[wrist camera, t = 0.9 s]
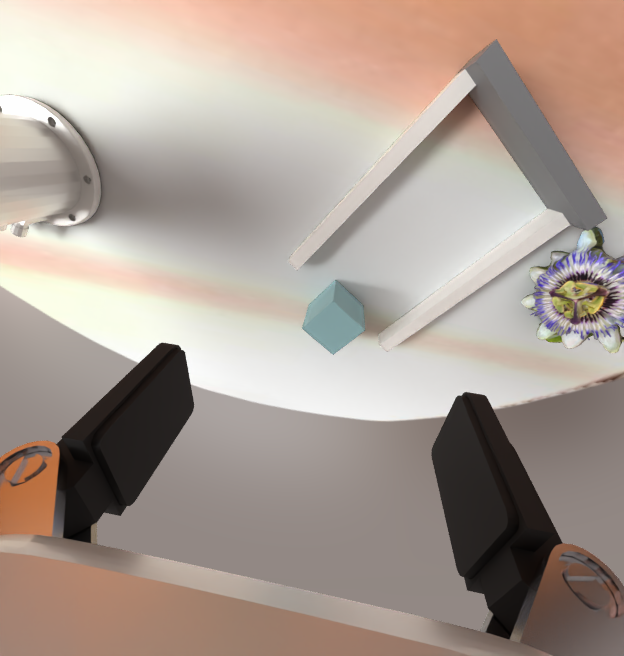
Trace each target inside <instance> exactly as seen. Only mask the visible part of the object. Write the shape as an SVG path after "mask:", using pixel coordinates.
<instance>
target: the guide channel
mask: <svg viewBox="0 0 624 656" xmlns="http://www.w3.org/2000/svg"><path fill="white" fill-rule="evenodd" d="M467 94H469V96H470V97H471V98H472V100H473V101H474V103H475V104H476V106H477V107H478V109H479V110H480V111H481V113H482V114H483V116H484V117H485V119H486V120H487V122H488V123H489V125H490V126H491V127H492V129H493V130H494V132H495V133H496V135H497V136H498V138H499V139H500V140H501V142H502V143H503V145H504V146H505V148H506V149H507V151H508V152H509V154H510V155H511V156H512V158H513V159H514V161H515V162H516V164H517V165H518V167H519V168H520V169H521V171H522V172H523V174H524V175H525V177H526V178H527V180H528V181H529V183H530V184H531V185H532V187H533V188H534V190H535V191H536V193H537V194H538V196H539V197H540V198H541V200H542V201H543V203H544V204H545V206H546V207H547V209H546V210H545V211H543V212H542V213H541V214H539V215H538V216H537V217H535V218H534V219H533V220H531V221H530V222H529V223H527V224H526V225H525V226H523V227H522V228H521V229H519V230H518V231H517V232H515V233H514V234H513V235H511V236H510V237H508V238H507V239H506V240H504V241H503V242H502V243H500V244H499V245H498V246H496V247H495V248H494V249H492V250H491V251H490V252H488V253H487V254H486V255H484V256H483V257H482V258H480V259H479V260H478V261H476V262H475V263H474V264H472V265H471V266H469V267H468V268H467V269H465V270H464V271H463V272H461V273H460V274H459V275H457V276H456V277H455V278H453V279H452V280H451V281H449V282H448V283H447V284H445V285H444V286H443V287H441V288H440V289H439V290H437V291H436V292H435V293H433V294H432V295H430V296H429V297H428V298H426V299H425V300H424V301H422V302H421V303H420V304H418V305H417V306H416V307H414V308H413V309H412V310H410V311H409V312H408V313H406V314H405V315H404V316H402V317H401V318H400V319H398V320H397V321H396V322H394V323H393V324H391V325H390V326H389V327H387V328H386V329H385V330H383V331H382V332H381V333H379V334H378V338H379V345H380V346H381V347H382V348H383V349H384V350H385V351H386V352H388V351H390V350H391V349H392V348H394V347H395V346H397V345H398V344H400V343H401V342H403V341H404V340H405V339H407V338H408V337H410V336H411V335H413V334H414V333H415V332H417V331H418V330H420V329H421V328H423V327H424V326H426V325H427V324H428V323H430V322H431V321H433V320H434V319H436V318H437V317H438V316H440V315H441V314H443V313H444V312H446V311H447V310H449V309H450V308H451V307H453V306H454V305H456V304H457V303H459V302H460V301H461V300H463V299H464V298H466V297H467V296H469V295H470V294H472V293H473V292H474V291H476V290H477V289H479V288H480V287H482V286H483V285H484V284H486V283H487V282H489V281H490V280H492V279H493V278H494V277H496V276H497V275H499V274H500V273H502V272H503V271H505V270H506V269H507V268H509V267H510V266H512V265H513V264H515V263H516V262H517V261H519V260H520V259H522V258H523V257H525V256H526V255H528V254H529V253H530V252H532V251H533V250H535V249H536V248H538V247H539V246H540V245H542V244H543V243H545V242H546V241H548V240H549V239H551V238H552V237H553V236H555V235H556V234H558V233H559V232H561V231H562V230H563V229H565V228H566V227H568V226H569V225H572V226H575V227H578V228H581V229H583V230H586V231H589V230H591V229H592V228H593V227H595V226H596V225H598V224H599V223H601V222H602V221H604V220H605V219H607V217H606V215H605V213H604V212H603V210H602V209H601V207H600V205H599V204H598V202H597V201H596V199H595V197H594V196H593V194H592V193H591V191H590V189H589V188H588V186H587V184H586V183H585V181H584V180H583V178H582V176H581V175H580V173H579V172H578V170H577V168H576V167H575V165H574V163H573V162H572V160H571V159H570V157H569V155H568V154H567V152H566V151H565V149H564V147H563V146H562V144H561V143H560V141H559V139H558V138H557V136H556V134H555V133H554V131H553V130H552V128H551V126H550V125H549V123H548V122H547V120H546V118H545V117H544V115H543V114H542V112H541V110H540V109H539V107H538V105H537V104H536V102H535V101H534V99H533V97H532V96H531V94H530V93H529V91H528V89H527V88H526V86H525V85H524V83H523V81H522V80H521V78H520V76H519V75H518V73H517V72H516V70H515V68H514V67H513V65H512V64H511V62H510V60H509V59H508V57H507V55H506V54H505V52H504V51H503V49H502V47H501V46H500V44H499V43H498V41H497V39H496V40H495V41H493V42H492V43H491V44H489V45H488V46H487V47H485V48H484V49H483V50H482V51H480V52H479V53H478V54H476V55H475V56H474V57H472V58H471V59H470V60H469V61H468V63H467V64H466V65H465V66H464V67H463V68H462V69H461V70H460V71H459V72H458V73H457V75H456V76H455V77H454V78H453V79H452V80H451V81H450V82H449V83H448V84H447V85H446V87H445V88H444V89H443V90H442V91H441V92H440V93H439V94H438V95H437V96H436V98H435V99H434V100H433V101H432V102H431V103H430V104H429V105H428V106H427V107H426V108H425V110H424V111H423V112H422V113H421V114H420V115H419V116H418V117H417V118H416V119H415V120H414V122H413V123H412V124H411V125H410V126H409V127H408V128H407V129H406V130H405V131H404V132H403V134H402V135H401V136H400V137H399V138H398V139H397V140H396V141H395V142H394V143H393V144H392V146H391V147H390V148H389V149H388V150H387V151H386V152H385V153H384V154H383V155H382V156H381V158H380V159H379V160H378V161H377V162H376V163H375V164H374V165H373V166H372V167H371V168H370V170H369V171H368V172H367V173H366V174H365V175H364V176H363V177H362V178H361V179H360V180H359V182H358V183H357V184H356V185H355V186H354V187H353V188H352V189H351V190H350V191H349V192H348V194H347V195H346V196H345V197H344V198H343V199H342V200H341V201H340V202H339V203H338V204H337V206H336V207H335V208H334V209H333V210H332V211H331V212H330V213H329V214H328V215H327V216H326V218H325V219H324V220H323V221H322V222H321V223H320V224H319V225H318V226H317V227H316V228H315V230H314V231H313V232H312V233H311V234H310V235H309V236H308V237H307V238H306V239H305V240H304V242H303V243H302V244H301V245H300V246H299V247H298V248H297V249H296V250H295V251H294V252H293V254H292V255H291V256H290V258H289V260H288V262H289V263H290V264H291V265H292V266H293V267H294V268H295V269H296V270H298V269H299V268H300V267H301V266H302V265H303V264H304V263H305V262H306V261H307V260H308V259H309V258H310V257H311V256H312V255H313V254H314V253H315V252H316V251H317V250H318V249H319V248H320V247H321V246H322V244H323V243H324V242H325V241H326V240H327V239H328V238H329V237H330V236H331V235H332V234H333V233H334V232H335V231H336V230H337V229H338V228H339V227H340V226H341V225H342V224H343V223H344V222H345V221H346V220H347V219H348V217H349V216H350V215H351V214H352V213H353V212H354V211H355V210H356V209H357V208H358V207H359V206H360V205H361V204H362V203H363V202H364V201H365V200H366V199H367V198H368V197H369V196H370V195H371V194H372V193H373V192H374V190H375V189H376V188H377V187H378V186H379V185H380V184H381V183H382V182H383V181H384V180H385V179H386V178H387V177H388V176H389V175H390V174H391V173H392V172H393V171H394V170H395V169H396V168H397V167H398V166H399V165H400V164H401V162H402V161H403V160H404V159H405V158H406V157H407V156H408V155H409V154H410V153H411V152H412V151H413V150H414V149H415V148H416V147H417V146H418V145H419V144H420V143H421V142H422V141H423V140H424V139H425V138H426V137H427V135H428V134H429V133H430V132H431V131H432V130H433V129H434V128H435V127H436V126H437V125H438V124H439V123H440V122H441V121H442V120H443V119H444V118H445V117H446V116H447V115H448V114H449V113H450V112H451V111H452V110H453V109H454V107H455V106H456V105H457V104H458V103H459V102H460V101H461V100H462V99H463V98H464V97H465V96H466V95H467Z"/></svg>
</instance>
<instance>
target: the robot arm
mask: <svg viewBox="0 0 624 656" xmlns="http://www.w3.org/2000/svg"><path fill="white" fill-rule="evenodd" d="M100 198H101V182H100V177H99V172H98V169H97V166H96V163H95V161H94V158H93V156H92V154H91V152H90V150H89V148H88V146H87V145H86V143H85V142H84V140H83V139H82V138H81V136H80V135H79V133H78V132H77V131H76V130H75V129H74V128H73V126H72V125H71V124H70V123H69V122H68V121H67V120H66V119H65V118H64V117H62V116H61V115H60V114H59V113H58V112H56V111H55V110H54V109H52V108H51V107H49V106H48V105H46V104H44V103H42V102H40V101H38V100H36V99H32V98H28V97H25V96H18V95H10V94H9V95H1V96H0V231H4V230H6V228H7V225H9V224H12V227H11V233H12V234H14V235H16V236H19V237H25V236H26V235H27V232H28V229H29V224H32V223H37V222H41V221H45V222H47V223H50V224H54V225H58V226H72V225H77V224H80V223H83V222H85V221H87V220H88V219H90V218H91V217H92V216H93V215H94V213H95V212H96V210H97V208H98V206H99V203H100ZM193 408H194V402H193V396H192V390H191V384H190V379H189V373H188V367H187V362H186V356H185V352H184V351H183V350H181V348H180V346H178V345H174V344H168V343H160V344H159V345H158V346H156V347H155V348H154V349H153V350H152V351H151V352H150V353H149V354H148V355H147V356H146V357H145V358H144V359H143V360H142V361H141V362H140V363H139V364H138V365H137V366H136V367H135V368H133V370H131V371H130V372H129V373H128V374H127V375H126V376H125V377H124V378H123V379H122V380H121V381H120V382H119V383H118V384H117V385H116V386H115V387H114V388H113V389H111V390H110V391H109V392H108V393H107V394H106V395H105V396H104V397H103V398H102V399H101V400H100V401H99V402H98V403H97V404H96V405H95V406H94V407H93V408H91V409H90V411H88V412H87V413H86V414H85V415H84V416H83V417H82V418H81V419H80V420H79V421H78V422H77V423H76V424H75V425H74V426H73V427H72V428H71V429H70V430H68V431H67V433H65V434H64V435H63V436H62V439H61V440H60V441H59V442H58V443H57V444H55V443H53V442H50V441H36V442H31V443H27V444H24V445H22V446H19V447H17V448H15V449H13V450H11V451H10V452H8V453H6V454H4V455H3V456H2V457H1V458H0V656H624V586H623V584H622V583H621V581H620V580H619V578H618V577H617V576H616V575H615V574H614V573H613V572H612V571H611V569H610V568H609V567H608V566H607V565H605V564H604V563H603V562H602V561H601V560H600V559H598V558H597V557H596V556H594V555H593V554H591V553H590V552H588V551H586V550H584V549H583V548H580V547H578V546H575V545H573V544H565V543H562V541H561V539H560V537H559V535H558V533H557V531H556V529H555V527H554V525H553V523H552V521H551V519H550V518H549V515H548V513H547V512H546V510H545V508H544V506H543V504H542V502H541V500H540V498H539V496H538V494H537V492H536V490H535V488H534V486H533V484H532V482H531V480H530V478H529V476H528V474H527V472H526V470H525V468H524V466H523V464H522V463H521V461H520V459H519V457H518V454H517V452H516V451H515V449H514V447H513V446H512V445H511V444H510V442H509V441H508V438H507V436H506V435H505V432H504V430H503V429H502V426H501V425H500V423H499V421H498V419H497V417H496V415H495V413H494V411H493V409H492V407H491V405H490V403H489V401H488V399H487V397H486V396H485V395H481V394H474V393H468V392H465V393H463V395H462V396H457V397H456V399H455V401H454V403H453V405H452V407H451V410H450V412H449V414H448V416H447V418H446V420H445V422H444V424H443V426H442V428H441V431H440V433H439V435H438V437H437V439H436V441H435V443H434V445H433V448H432V460H433V465H434V469H435V474H436V478H437V483H438V487H439V491H440V496H441V500H442V505H443V509H444V514H445V518H446V523H447V527H448V532H449V535H450V540H451V545H452V549H453V553H454V558H455V563H456V567H457V570H458V573H459V574H460V576H462V577H464V578H465V583H466V587H467V590H468V591H473V592H477V593H482V594H484V595H485V599H486V602H487V606H488V609H489V612H488V614H487V616H486V618H485V621H484V623H483V625H482V627H481V630H480V631H477V630H473V629H469V628H465V627H461V626H457V625H453V624H449V623H444V622H441V621H437V620H432V619H428V618H425V617H420V616H416V615H412V614H407V613H403V612H398V611H394V610H390V609H386V608H381V607H377V606H372V605H368V604H364V603H359V602H355V601H351V600H346V599H341V598H337V597H333V596H329V595H324V594H320V593H316V592H311V591H307V590H302V589H298V588H293V587H289V586H284V585H280V584H276V583H271V582H267V581H262V580H258V579H253V578H249V577H244V576H240V575H235V574H231V573H226V572H221V571H217V570H213V569H208V568H203V567H199V566H195V565H190V564H185V563H181V562H176V561H172V560H167V559H163V558H158V557H154V556H149V555H144V554H140V553H135V552H131V551H126V550H122V549H116V548H111V547H106V546H101V545H97V521H98V520H99V519H100V517H101V516H102V514H103V513H104V512H105V513H109V514H114V515H119V516H121V514H122V513H123V511H124V510H125V508H126V506H130V505H132V504H133V503H134V502H135V500H136V499H137V497H138V496H139V494H140V492H141V491H142V490H143V488H144V486H145V485H146V483H147V482H148V480H149V479H150V477H151V476H152V474H153V472H154V471H155V469H156V468H157V466H158V465H159V463H160V462H161V460H162V459H163V457H164V456H165V454H166V453H167V451H168V450H169V448H170V446H171V445H172V443H173V442H174V440H175V439H176V437H177V436H178V434H179V433H180V431H181V429H182V428H183V426H184V425H185V423H186V422H187V420H188V419H189V417H190V416H191V414H192V412H193Z"/></svg>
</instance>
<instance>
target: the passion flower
mask: <svg viewBox="0 0 624 656" xmlns="http://www.w3.org/2000/svg"><path fill="white" fill-rule="evenodd" d="M603 243H604V237H603V233H602V231H601V229H599V228H598V227H596V226H595V227H593V228H592V229H591V230H589V231H586V230H583V232H582V233H581V235H580V238H579V241H578V243H577V249H576V250H574V251H573V252H570V253H566V252H561V251H553V252H551V260H552V261H551V264H550V265H549V266H547V267H532V268H530V273H529V274H530V277H531V279H532V280H533V281H534V282H535V283H536V284H537V285H536V287H535V289H536V293H533V294H531V295H527V296H526V297H525V298H523V299H522V301H521V303H522V305H524V306H525V307H526V308H528V309H531V310H535V311H537V312H535V313H532V314H535V316H539V317H540V319H541V320H542V323H540V324H539V325H540V326H539V328H538V330H537V337H538V339H541V340H544V339H546V340H547V341H548V342H558V343H560V342H563V344H564V346H565V347H566V348H567V349H569V348H570V349H571V348H574V347H577V346H579V345H580V344H581V343H582V342H584V341H585V340H586V339H587V338H588V337H590V336H592V335H594V338H595V339H596V340H597V339H598V340H599V342H600V343H601V344H603V346H604V348H605V349H606V350H607V351H609V352H610V353H616V352H618V351H619V347H620V345H621V343H622V342H623V341H624V337H622V336H621V334H620V327H619V326H618V325H620V326H621V327H622V328H624V326H623V323H624V256H622V257H620V258H617V259H614V258H612V257H610V256H609V255H607V254H605V252H604V250H603V248H602V244H603ZM532 314H531V315H532ZM617 324H618V325H617ZM588 340H590V339H589V338H588Z"/></svg>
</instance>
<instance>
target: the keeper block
mask: <svg viewBox="0 0 624 656" xmlns="http://www.w3.org/2000/svg"><path fill="white" fill-rule="evenodd" d="M302 329H303V330H304V331H306V332H307V333H308V334H309V335H310V336H311V337H313V338H314V339H315V340H316V341H317V342H319V343H320V344H321V345H322V346H323V347H325V348H326V349H327V350H328V351H329V352H330V353H332V354H333V355H334V354H335V353H336V352H338V351H339V350H340V349H341V348H343V347H344V346H345V345H347V344H348V343H349V342H351V341H352V340H353V339H354V338H356V337H357V336H358V335H360V334H361V333H362V332H363V331H365V321H364V306H363V305H362V304H361V303H360V302H359V301H358V300H357V299H356V298H355V297H354V296H353V295H351V294H350V293H349V292H348V291H347V290H346V289H345V288H344V287H343V286H342V285H341V284H340V283H339V282H338V281H337V280H335V281H334V282H333V283H332V284H331V285H330V286H329V287H328V288H326V289H325V290H324V291H323V292H322V293H321V294H320V295H319V296H318V297H317V298H316V299H315V300H314V301H312V302H311V303H310V304H309V306H308V309H307V313H306V316H305V320H304V323H303V327H302Z"/></svg>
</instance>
